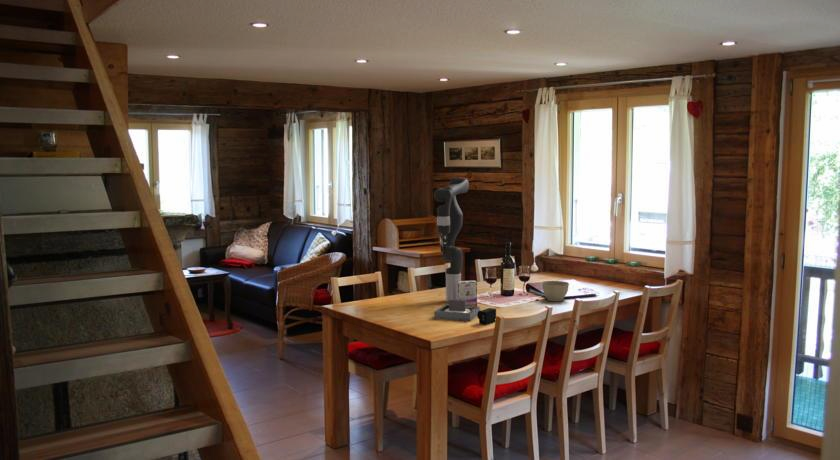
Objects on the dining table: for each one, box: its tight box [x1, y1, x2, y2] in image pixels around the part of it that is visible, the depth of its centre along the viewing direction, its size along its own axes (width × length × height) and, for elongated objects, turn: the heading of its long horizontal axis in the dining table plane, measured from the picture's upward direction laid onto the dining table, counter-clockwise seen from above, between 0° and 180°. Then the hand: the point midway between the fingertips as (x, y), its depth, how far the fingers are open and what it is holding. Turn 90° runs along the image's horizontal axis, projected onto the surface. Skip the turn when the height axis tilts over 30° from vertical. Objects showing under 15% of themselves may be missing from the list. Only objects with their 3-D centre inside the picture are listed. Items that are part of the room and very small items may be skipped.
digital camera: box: [476, 307, 497, 326], centre depth 367 cm, size 10×5×7 cm, turn 143°
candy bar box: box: [457, 280, 478, 307], centre depth 400 cm, size 11×5×16 cm, turn 101°
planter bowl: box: [541, 280, 570, 302], centre depth 426 cm, size 16×16×11 cm
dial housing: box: [433, 303, 481, 322], centre depth 383 cm, size 20×20×4 cm
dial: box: [445, 299, 470, 313], centre depth 382 cm, size 14×14×7 cm
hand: (443, 252), depth 396 cm, fingers open, 8 cm apart
